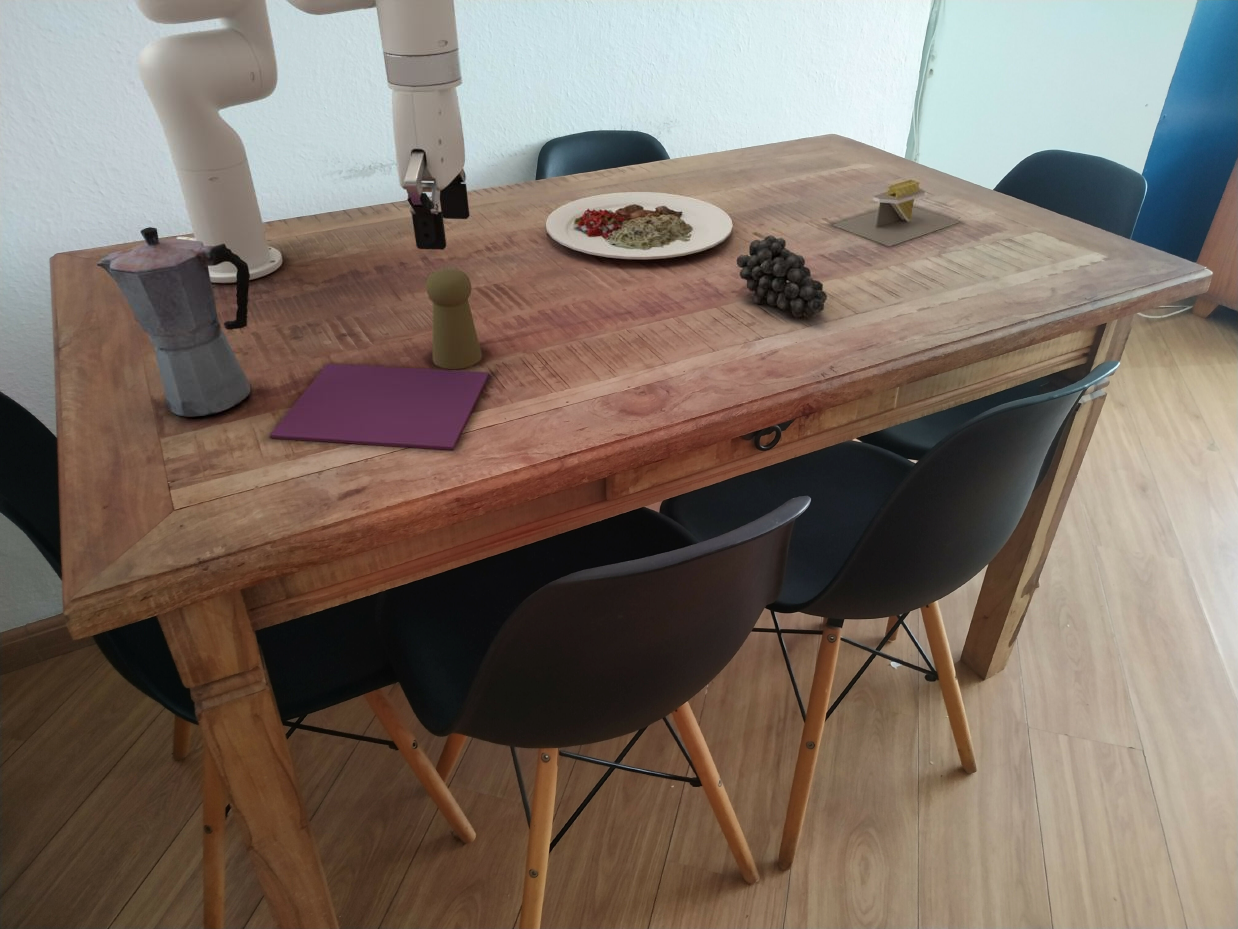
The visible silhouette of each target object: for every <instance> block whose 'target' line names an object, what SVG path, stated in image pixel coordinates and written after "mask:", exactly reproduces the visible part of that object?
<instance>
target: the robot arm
mask: <svg viewBox="0 0 1238 929" xmlns="http://www.w3.org/2000/svg"><path fill="white" fill-rule="evenodd" d="M266 1H267V0H134V2H135V3H136V6H137V8H138V10H139V11H140V13H142V15H143V16H144V17H145V18H147V19H148V20H149V21H152V22H154V23H157V24H163V25H178V24H179V25H180V24H187V23H189V24H190V23H196V22H204V21H211V20H218V19H219V23H220V26H221V28H215V29H214V28H213V29H209V30H198V31H192V32H191V31H190V32H185V33H184V32H183V33H178V34H172V35H167V36H163V37H160V38H157V39H155V40H152V41H150V42H149V43H148V44H147V45H146V46H144V47H143V48H142V50H141V51H140V53H139V56H138V60H137V67H138V68H137V69H138V74H139V77H140V81H141V82H142V85H143V87H144V90H145V91H146V92H145V93H146V94H147V96H148V98H149V100H150V102H151V104H152V107H153V108H154V111H155V113H156V115H157V118H158V120H159V122H160V125H161V127H162V128H161V129H162V130H163V133H164V136H165V139H166V143H167V145H168V149H169V152H170V155H171V159H172V163H173V166H174V169H175V172H176V175H177V179H178V182H179V186H180V190H181V193H182V197H183V200H184V204H185V208H186V211H187V215H188V219H189V222H190V225H191V229H192V232H193V236H194V237H190V236H177V237H176V239H184V240H193V241H201V242H202V243H203V246H213V247H214V246H217V245H221V244H225V245H226V247H227V248H228V249H230V250H231V252H233V253H234V254H236V255H238V256H239V257H240V259H241V260H243V261H245V262H246V263H247V265H248V269H249V274H250V278H249V281H251V280H252V281H253V280H255V279H256V280H257V279H259V278H263V277H266V276H268V275H269V274H271V273H274V272H275V271H277V270H278V269H279V268H280V267H281V266H282V264H283V262H284V261H283V256H282V252H280V250H278V249H277V248H275V247H272V246H270V245H269V244H268V239H267V235H266V230H265V227H264V223H263V219H262V214H261V211H260V205H259V202H258V201H259V200H258V197H257V193H256V189H255V185H254V181H253V177H252V174H251V173H252V172H251V168H250V164H249V160H248V156H247V151H246V147H245V144H244V142H243V139H242V138H241V137H240V135H239V133H237V131H236V130H235V129H234V127H232V126H231V125H230V124H229V123H228V122H227V121H226V120H224V119H223V117H222V115H221V114H220V113H219V112H220V111H221V110H224V109H228V108H230V107H235V106H240V105H245V104H249V103H254V102H258V101H260V100H264V99H267V98H269V97H270V96H271V95H272V94H273V93H274V92H275V90H276V88H277V85H278V78H279V77H278V72H279V71H278V64H277V56H276V51H275V46H274V40H273V34H272V29H271V24H270V17H269V12H268V7H267V2H266ZM286 1H287V2H288V3H289V4H290V5H291V6H293V7H294V8H296V9H297V10H299V11H301V12H303V13H305V14H308V15H314V16H325V15H332V14H339V13H344V12H351V11H357V10H367V9H375V8H376V15H377V21H378V28H379V34H380V35H379V36H380V41H381V49H382V54H383V59H384V60H383V61H384V67H385V75H386V80H387V87H388V88H389V89H391V90H392V92H391V111H392V112H391V114H392V129H393V141H394V150H395V159H396V168H397V169H396V170H397V177H398V183H399V186H400V188H402V190H406V194H407V199H406V200H407V202H408V203H409V213H410V214H411V219H412V225H413V233H414V239H415V246H416V248H417V249H418V250H437V251H439V250H440V251H444V250H445V249H446V247H447V238H446V237H447V236H446V231H445V222H444V219H447V220H467V219H469V218H470V214H471V213H470V206H469V196H468V188H467V183H466V180H467V175H466V172H465V169H464V167H465V163H466V150H465V138H464V131H463V123H462V116H461V109H460V103H459V96H458V92H457V87H459V86H461V85H462V84H463V76H462V68H461V67H462V66H461V57H460V48H459V39H458V38H459V37H458V31H457V30H458V29H457V21H456V20H457V19H456V10H455V1H454V0H286ZM427 193H430V194H431V195H430V197H429V195H428V194H427ZM439 208H440V209H439ZM439 210H440V211H439ZM208 269H209V274H210V279H211V283H214V284H233V283H236V281H237V277H236V274H237V268H236V267H235V265H234V264H232V263H231V262H222V263H220V264H218V265H215V266H208Z"/></svg>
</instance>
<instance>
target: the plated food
mask: <svg viewBox="0 0 1238 929" xmlns="http://www.w3.org/2000/svg"><path fill="white" fill-rule="evenodd" d="M732 220H733V219H732V218H731V217H730V215H729V214H728V213H727V212H726V211H724V210H723V209H722V208H720V207H719V206H716V205H714V204H712V203H710V202H707V201H705V200H704V201H703V200H701V199H698V198H694V197H689V196H685V195H680V194H673V193H667V192H666V193H665V192H654V191H653V192H652V191H625V192H612V193H602V194H597V195H592V196H591V195H590V196H587V197H583V198H579V199H576V200H572V201H570V202H567V203H565V204H563V205H561V206H559V207H558V208H556V209H554V210H553V211H552V212H551V213H550V214H549V215H548V216H547V218H546V222H545V227H546V228H545V229H546V232H547V233H548V235H549V236H550V237H551V238H552V240H554V241H556V242H557V243H559V244H560V245H561V246H565V247H567V248H569V249H570V250H574V251H577V252H581V253H584V254H588V255H592V256H593V255H594V256H599V257H605V258H610V259H611V258H612V259H622V260H642V261H643V260H645V261H646V260H660V259H668V258H669V259H671V258H676V257H683V256H687V255H693V254H696V253H700V252H703V251H706V250H708V249H711V248H714V247H716V246H718V245H719V244H721V243H723V242H724V241H725V240H726V239H727V238H728V237H729V236H730V235H731V233H732V231H733V221H732Z"/></svg>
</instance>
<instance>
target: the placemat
mask: <svg viewBox="0 0 1238 929" xmlns="http://www.w3.org/2000/svg"><path fill="white" fill-rule="evenodd" d="M489 377H490V372H485V371H484V372H483V371H469V370H468V371H466V370H451V369H434V368H433V369H430V368H413V367H395V366H379V365H378V366H376V365H361V364H360V365H358V364H341V363H326V364H325V366H324V367H323V368H322V369H321V371H320V372H319V373H318V374H317V376H316V377H315V378H314V379H313V381H311V383H310V384H309V385H308V387H307V388H306V389H305V390H304V391H303V393H302V394H301V396H299V398H298V399H297V400H296V402H294V404H293V405H292V406H291V408H290V409H289V410H288V411H287V412H286V414H285V415H284V416H283V418H282V419H281V420H280V422H278V424H277V425H276V426H275V428H274V429H273V430H272V431H271V433H270V434H269V438H270V439H278V440H294V441H306V442H307V441H309V442H323V443H339V444H355V445H356V444H357V445H369V446H387V447H400V448H401V447H402V448H418V449H433V450H446V451H454V449H455V447H456V445H457V444H458V441H459V439H460V437H461V436H462V433H463V431H464V429H465V426H466V424H467V422H468V421H469V418H470V416H471V414H472V412H473V410H474V408H475V406H476V404H477V402H478V400H479V398H480V396H481V393H482V392H483V390H484V388H485V385H486V384H487V381H488V379H489Z"/></svg>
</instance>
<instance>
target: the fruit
mask: <svg viewBox="0 0 1238 929" xmlns="http://www.w3.org/2000/svg"><path fill="white" fill-rule="evenodd" d="M786 244H787V243H786V239H784V238H782V237H779V238H776V237H775V235H767V236H766V237H764V239H762V240H760V239H755V240H753V241H751V242H750V243H749V249H748V251H749V252H748V254H740V255H739V256H738V257H736V265H737V266H738V267H739V268H741V270H740V271H739V277H740V279H742V280H745V281H746V288H747V289H748V290H749V291H750V292H753V294H752V296H751V297H752V301H753V303H756V304H757V305H761V304H764V303H765V302H766V303H767V304H768V305H769V306H777V307H778V308H779V309H780V310H787V309H789V308H790V310H791V313H792V316H793V317H795V318H797V319H798V318H799V319H800V318H802V317H803V316H804V317H805V318H806V319H812V318H814V317H816V316H817V315H818V314H820V313H822V312H823V311H824V310H825V303H826V301H827V298H828V295H827V293H826V292H825V291H824V284H823V283H822V282H820V280H816V279H813V278H812V276H811V275H812V274H811V270H810V268H808V267H807V266H805V265H806V260H805V258H804V257H803V255H800V254H796V253H795V252H793V251H791V250H789V249H787V248H786V246H787V245H786Z"/></svg>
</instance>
